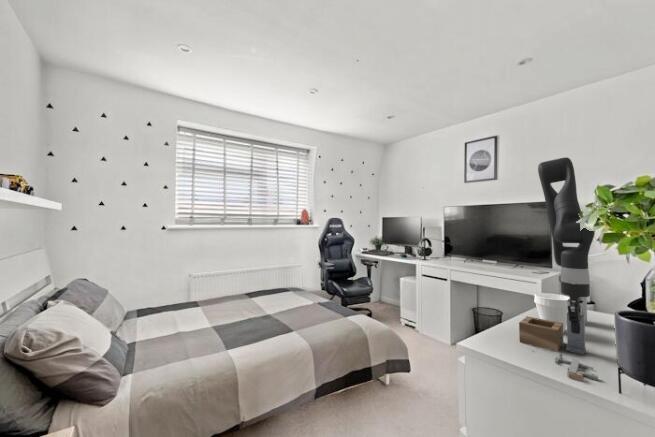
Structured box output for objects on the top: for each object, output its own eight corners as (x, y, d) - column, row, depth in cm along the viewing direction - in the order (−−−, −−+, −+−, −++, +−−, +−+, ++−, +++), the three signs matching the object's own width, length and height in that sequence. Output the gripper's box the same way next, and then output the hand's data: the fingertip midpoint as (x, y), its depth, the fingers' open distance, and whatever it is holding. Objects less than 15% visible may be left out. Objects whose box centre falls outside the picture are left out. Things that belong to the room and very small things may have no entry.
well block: (527, 334, 112) (526, 316, 112) (563, 342, 104) (562, 323, 104) (519, 342, 104) (519, 322, 105) (557, 351, 96) (557, 330, 97)
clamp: (596, 379, 76) (549, 366, 83) (597, 387, 76) (549, 373, 83) (599, 361, 86) (557, 350, 93) (599, 368, 86) (557, 357, 93)
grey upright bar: (568, 346, 100) (567, 312, 100) (585, 350, 96) (584, 315, 97) (566, 350, 97) (565, 314, 97) (584, 354, 93) (583, 317, 94)
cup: (570, 328, 118) (569, 295, 119) (575, 338, 108) (574, 301, 109) (534, 323, 125) (533, 291, 126) (535, 331, 115) (534, 297, 115)
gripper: (564, 277, 105) (565, 324, 105) (557, 282, 96) (558, 334, 95) (591, 279, 100) (593, 329, 99) (587, 285, 90) (588, 340, 90)
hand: (576, 331), depth 97 cm, fingers closed on grey upright bar, 2 cm apart
